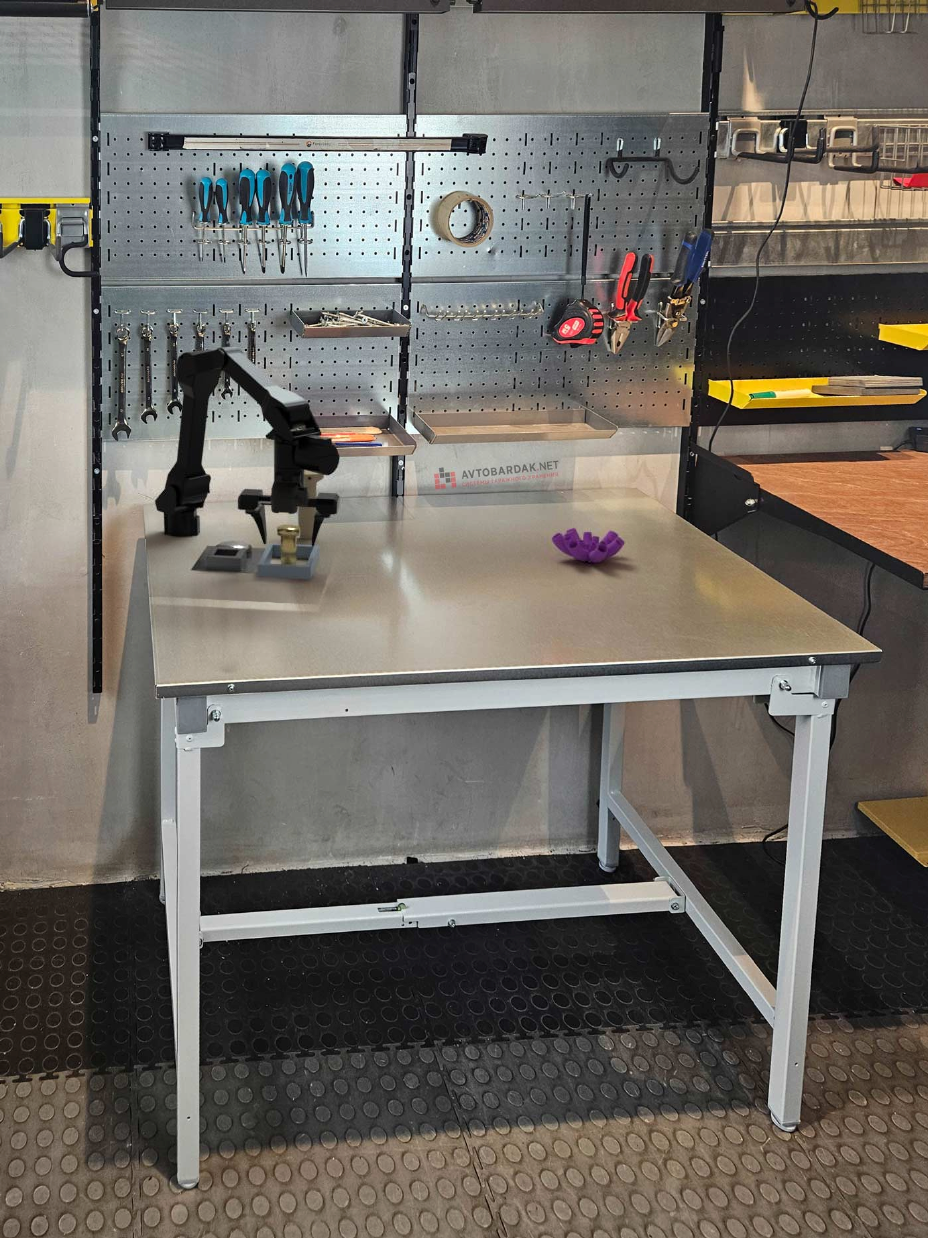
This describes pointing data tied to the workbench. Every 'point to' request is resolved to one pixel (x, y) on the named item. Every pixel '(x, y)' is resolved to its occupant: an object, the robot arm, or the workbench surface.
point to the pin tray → (287, 569)
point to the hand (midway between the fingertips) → (289, 544)
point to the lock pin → (288, 543)
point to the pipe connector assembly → (588, 545)
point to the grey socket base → (229, 558)
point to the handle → (308, 512)
